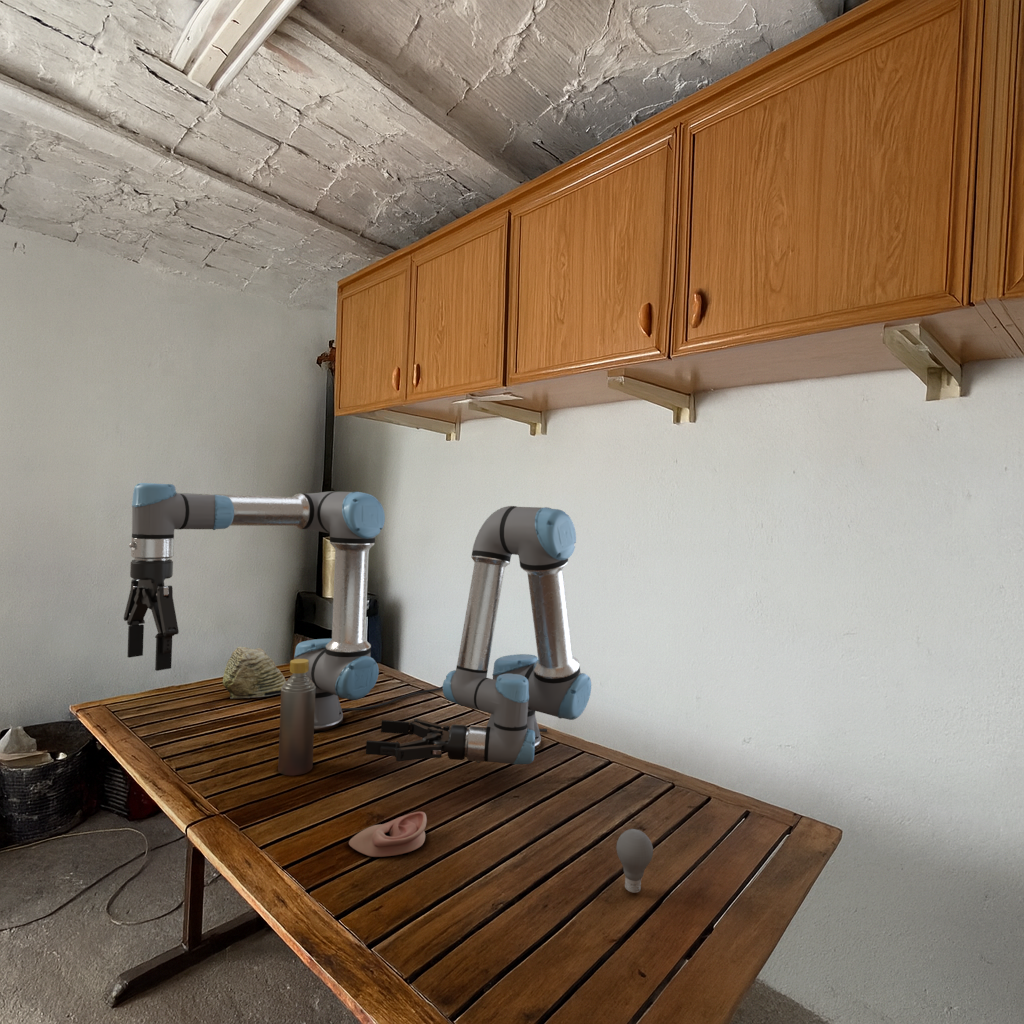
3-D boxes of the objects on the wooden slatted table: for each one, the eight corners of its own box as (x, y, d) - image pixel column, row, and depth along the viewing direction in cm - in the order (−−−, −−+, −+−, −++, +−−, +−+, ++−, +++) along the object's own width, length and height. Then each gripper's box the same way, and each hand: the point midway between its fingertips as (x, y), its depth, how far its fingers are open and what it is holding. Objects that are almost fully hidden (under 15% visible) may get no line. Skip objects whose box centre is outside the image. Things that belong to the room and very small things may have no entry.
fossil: (218, 695, 195) (220, 647, 195) (278, 685, 208) (279, 640, 207) (228, 703, 189) (230, 653, 188) (289, 692, 201) (290, 645, 201)
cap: (289, 669, 148) (290, 659, 148) (308, 668, 149) (308, 658, 149) (289, 674, 144) (290, 663, 144) (308, 673, 145) (309, 662, 145)
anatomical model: (341, 830, 113) (368, 800, 124) (340, 851, 113) (367, 820, 124) (411, 841, 110) (433, 810, 122) (411, 863, 111) (432, 830, 122)
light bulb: (610, 879, 108) (613, 822, 108) (644, 879, 109) (647, 822, 109) (619, 902, 102) (622, 840, 102) (655, 901, 103) (658, 840, 103)
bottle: (278, 763, 149) (282, 659, 149) (312, 760, 152) (316, 657, 151) (277, 777, 142) (281, 667, 142) (313, 773, 145) (317, 666, 144)
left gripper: (108, 554, 134) (104, 654, 134) (159, 565, 118) (155, 678, 119) (146, 552, 140) (143, 648, 140) (199, 563, 124) (195, 671, 124)
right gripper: (459, 782, 131) (358, 775, 132) (471, 739, 156) (386, 733, 157) (461, 746, 131) (360, 739, 132) (473, 709, 156) (388, 703, 157)
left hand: (148, 662), depth 129 cm, fingers open, 13 cm apart
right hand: (374, 736), depth 144 cm, fingers open, 13 cm apart
